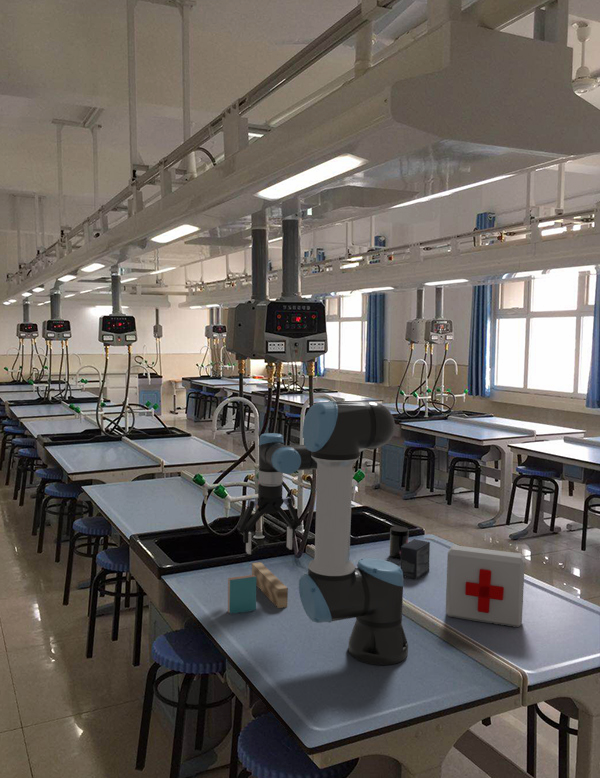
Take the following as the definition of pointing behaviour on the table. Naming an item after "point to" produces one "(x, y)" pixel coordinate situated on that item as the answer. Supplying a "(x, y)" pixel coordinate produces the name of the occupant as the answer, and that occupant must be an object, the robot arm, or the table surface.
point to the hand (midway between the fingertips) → (269, 550)
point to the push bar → (270, 585)
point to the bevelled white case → (485, 585)
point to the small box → (415, 558)
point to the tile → (242, 594)
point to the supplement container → (397, 540)
